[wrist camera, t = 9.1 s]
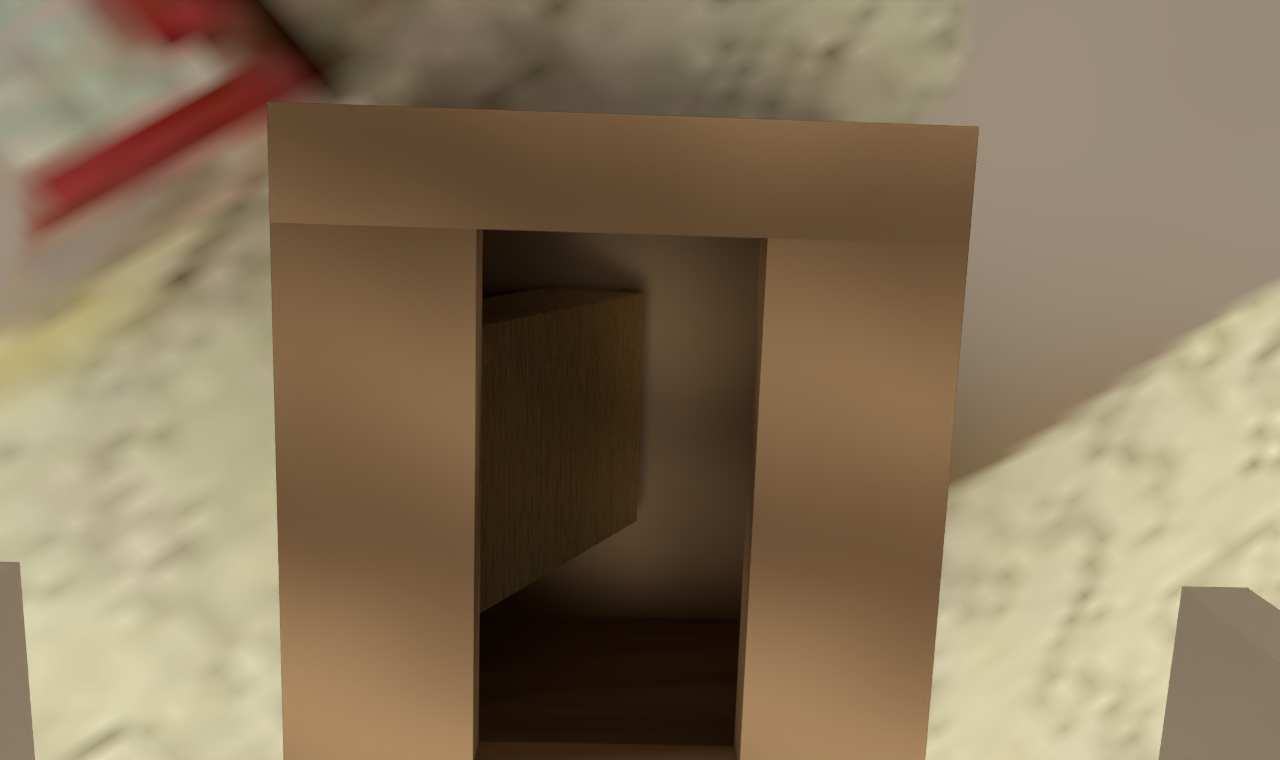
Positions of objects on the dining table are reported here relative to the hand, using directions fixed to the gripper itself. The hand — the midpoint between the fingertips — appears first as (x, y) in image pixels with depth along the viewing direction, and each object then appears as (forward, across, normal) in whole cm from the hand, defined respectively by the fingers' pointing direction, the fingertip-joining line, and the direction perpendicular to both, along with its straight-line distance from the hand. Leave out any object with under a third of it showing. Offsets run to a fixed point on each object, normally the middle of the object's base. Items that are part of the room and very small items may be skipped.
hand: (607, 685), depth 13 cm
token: (+18, 0, -1) cm, 18 cm away
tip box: (+19, 0, -1) cm, 19 cm away
